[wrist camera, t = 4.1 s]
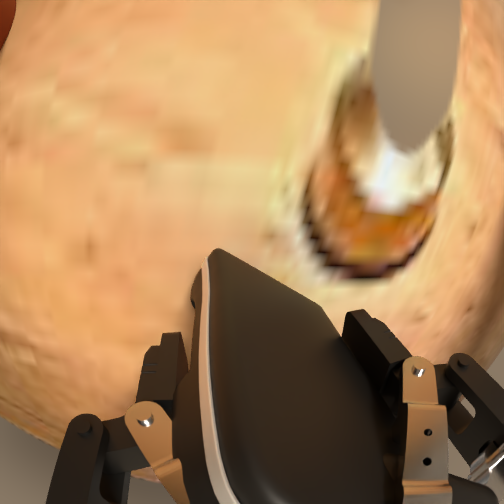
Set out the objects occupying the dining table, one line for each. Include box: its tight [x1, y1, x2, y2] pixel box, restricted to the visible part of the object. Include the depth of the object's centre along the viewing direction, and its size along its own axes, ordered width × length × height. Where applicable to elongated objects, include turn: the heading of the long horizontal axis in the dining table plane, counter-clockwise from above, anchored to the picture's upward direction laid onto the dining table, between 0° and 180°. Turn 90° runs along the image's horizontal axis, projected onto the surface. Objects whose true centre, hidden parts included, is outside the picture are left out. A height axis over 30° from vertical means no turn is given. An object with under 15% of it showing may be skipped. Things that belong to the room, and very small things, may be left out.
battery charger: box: [172, 248, 400, 504], centre depth 9 cm, size 7×4×11 cm, turn 55°
